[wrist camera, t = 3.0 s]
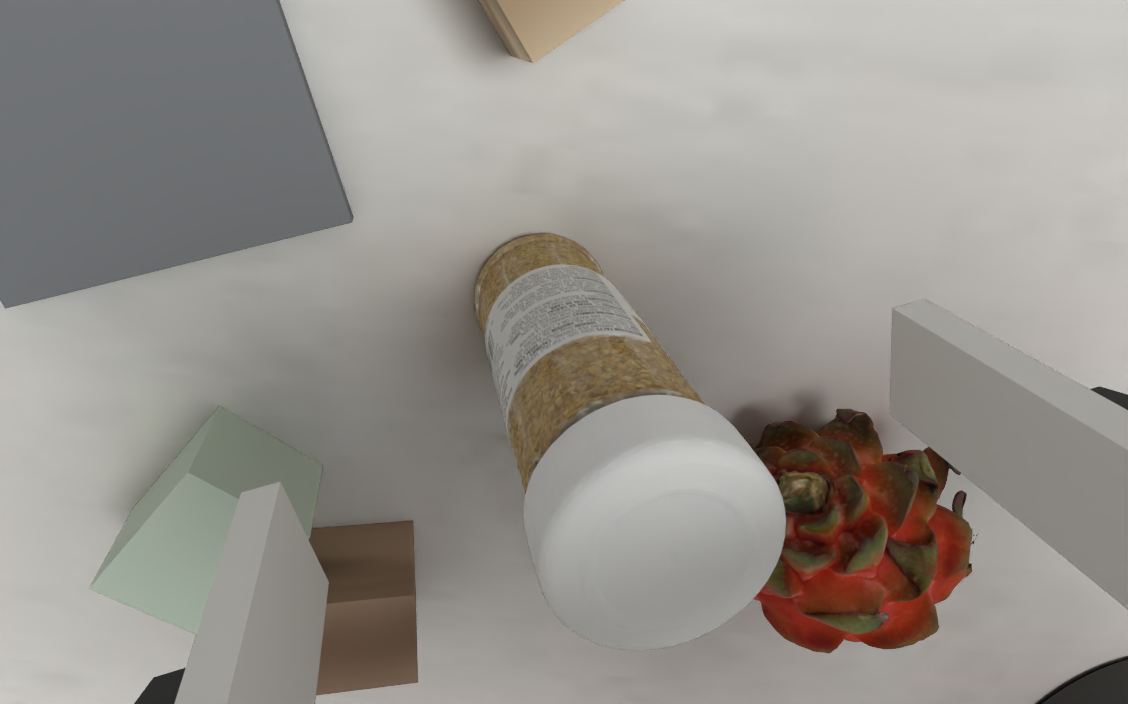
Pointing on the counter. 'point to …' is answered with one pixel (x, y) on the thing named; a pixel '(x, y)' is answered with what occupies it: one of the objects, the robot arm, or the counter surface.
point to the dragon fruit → (860, 537)
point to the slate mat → (151, 139)
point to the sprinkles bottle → (619, 458)
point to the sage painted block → (199, 517)
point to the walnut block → (367, 606)
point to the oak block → (541, 22)
